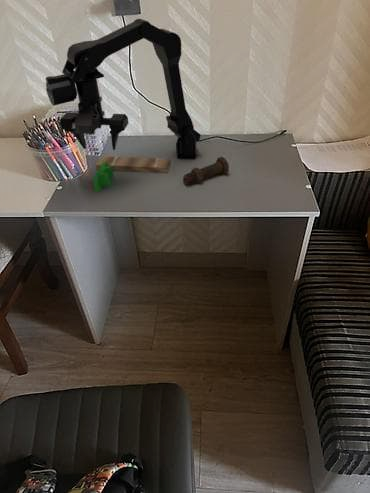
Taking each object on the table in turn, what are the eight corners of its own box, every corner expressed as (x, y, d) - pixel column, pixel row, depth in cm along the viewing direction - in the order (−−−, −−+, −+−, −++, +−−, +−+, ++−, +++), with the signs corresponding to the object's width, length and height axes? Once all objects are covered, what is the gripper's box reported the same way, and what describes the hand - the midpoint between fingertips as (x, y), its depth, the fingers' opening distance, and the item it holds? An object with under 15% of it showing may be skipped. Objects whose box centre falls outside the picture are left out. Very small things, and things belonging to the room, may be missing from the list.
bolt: (184, 189, 120) (223, 174, 125) (190, 189, 115) (231, 173, 120) (178, 171, 118) (218, 156, 123) (185, 170, 113) (225, 155, 118)
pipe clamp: (107, 192, 117) (104, 180, 113) (95, 192, 117) (92, 179, 114) (116, 173, 125) (114, 161, 122) (106, 173, 125) (103, 160, 122)
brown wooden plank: (170, 164, 128) (169, 158, 126) (167, 173, 123) (166, 167, 122) (102, 161, 131) (101, 155, 129) (97, 170, 126) (95, 164, 125)
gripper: (44, 107, 98) (59, 161, 108) (113, 109, 95) (122, 163, 106) (61, 91, 106) (73, 143, 116) (125, 93, 103) (132, 145, 114)
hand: (99, 149), depth 113 cm, fingers open, 9 cm apart
